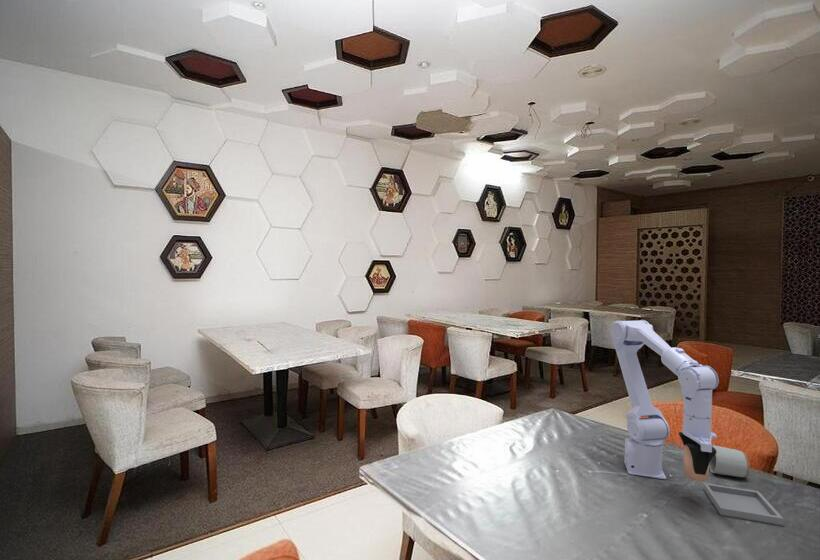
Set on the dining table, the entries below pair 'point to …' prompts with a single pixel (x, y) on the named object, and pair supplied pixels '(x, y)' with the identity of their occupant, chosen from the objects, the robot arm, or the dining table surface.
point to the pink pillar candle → (689, 468)
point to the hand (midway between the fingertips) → (696, 468)
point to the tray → (742, 504)
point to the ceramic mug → (729, 462)
